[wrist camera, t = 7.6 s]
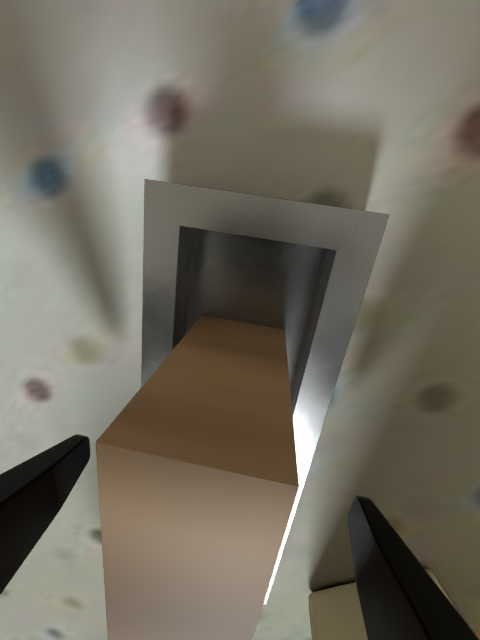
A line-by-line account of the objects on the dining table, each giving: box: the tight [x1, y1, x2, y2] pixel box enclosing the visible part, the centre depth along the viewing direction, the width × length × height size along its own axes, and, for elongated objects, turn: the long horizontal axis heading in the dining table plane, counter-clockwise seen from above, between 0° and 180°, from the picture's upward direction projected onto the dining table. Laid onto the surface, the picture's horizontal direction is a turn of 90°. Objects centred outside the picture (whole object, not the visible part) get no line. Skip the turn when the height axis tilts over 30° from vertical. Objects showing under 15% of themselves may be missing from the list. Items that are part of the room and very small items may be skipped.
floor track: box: [141, 179, 389, 604], centre depth 10 cm, size 17×7×2 cm, turn 172°
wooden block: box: [96, 315, 299, 640], centre depth 8 cm, size 9×3×6 cm, turn 172°
